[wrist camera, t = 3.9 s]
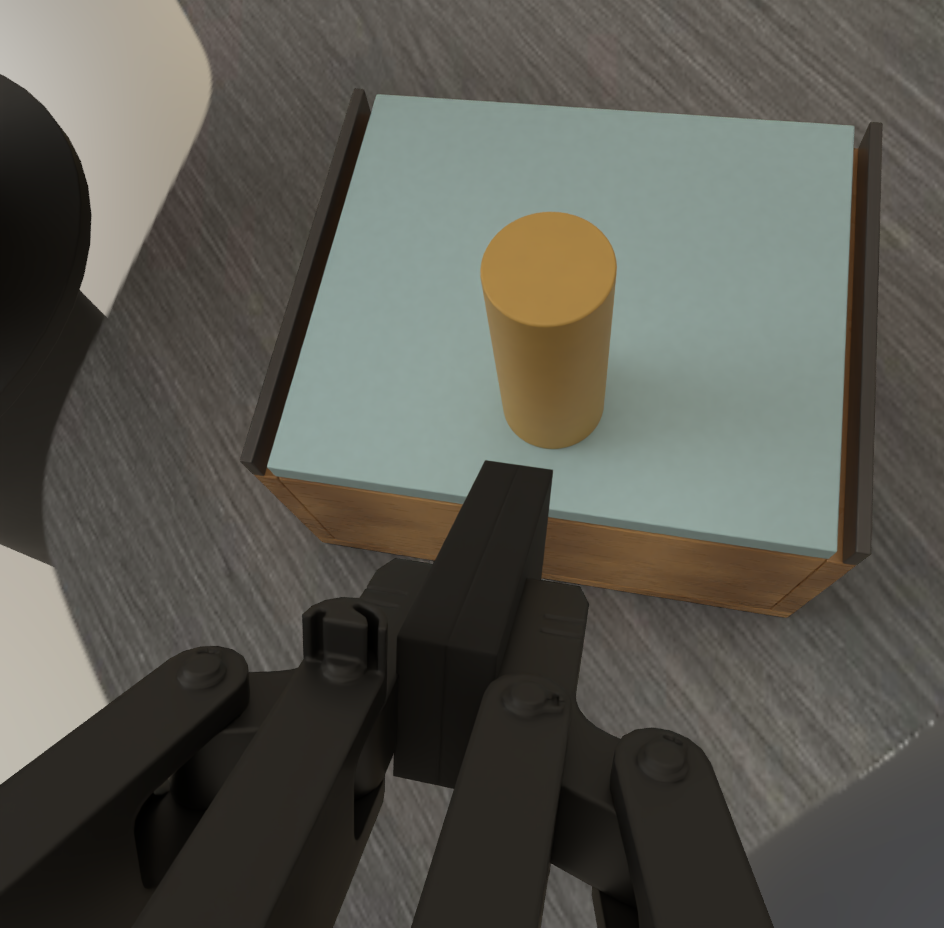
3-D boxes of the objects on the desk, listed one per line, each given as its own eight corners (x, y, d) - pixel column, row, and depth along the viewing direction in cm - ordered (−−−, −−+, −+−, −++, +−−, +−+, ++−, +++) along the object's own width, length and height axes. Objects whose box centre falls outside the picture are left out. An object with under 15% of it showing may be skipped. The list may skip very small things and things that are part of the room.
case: (321, 542, 33) (238, 461, 25) (400, 240, 38) (353, 87, 30) (787, 618, 30) (871, 554, 22) (808, 279, 35) (883, 122, 27)
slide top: (274, 476, 26) (159, 355, 18) (380, 110, 30) (322, -99, 23) (829, 560, 23) (949, 455, 16) (847, 142, 28) (945, -83, 21)
